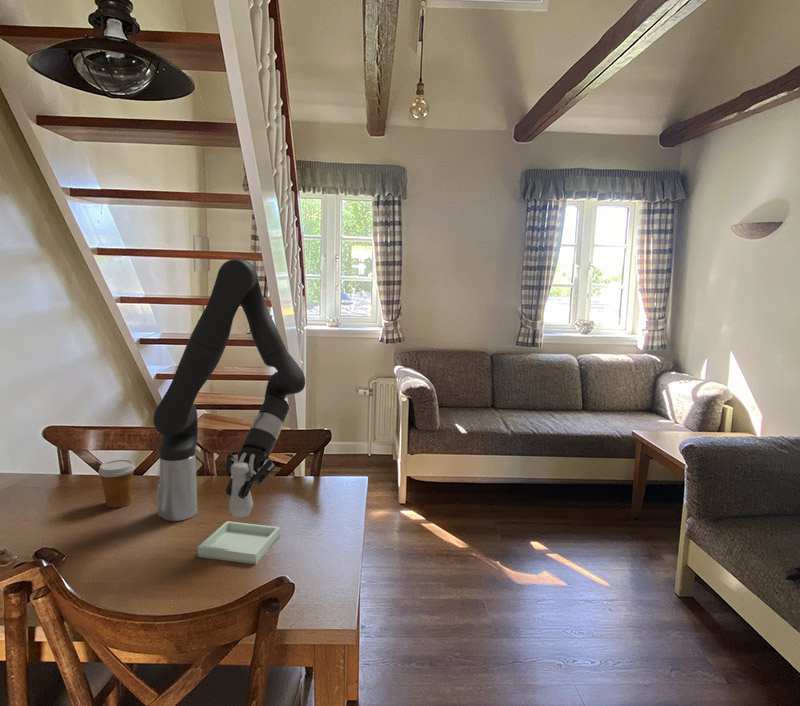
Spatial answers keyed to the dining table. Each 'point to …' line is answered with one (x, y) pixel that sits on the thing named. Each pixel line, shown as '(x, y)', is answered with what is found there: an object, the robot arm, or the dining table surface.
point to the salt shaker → (236, 503)
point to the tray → (239, 542)
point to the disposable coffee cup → (117, 482)
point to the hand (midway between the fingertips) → (235, 496)
